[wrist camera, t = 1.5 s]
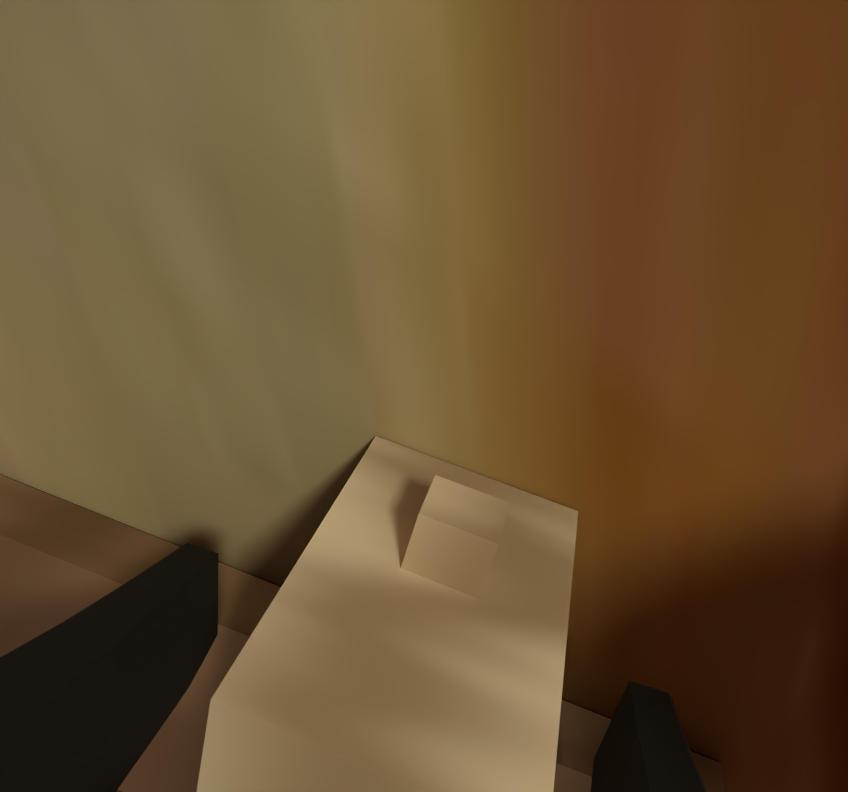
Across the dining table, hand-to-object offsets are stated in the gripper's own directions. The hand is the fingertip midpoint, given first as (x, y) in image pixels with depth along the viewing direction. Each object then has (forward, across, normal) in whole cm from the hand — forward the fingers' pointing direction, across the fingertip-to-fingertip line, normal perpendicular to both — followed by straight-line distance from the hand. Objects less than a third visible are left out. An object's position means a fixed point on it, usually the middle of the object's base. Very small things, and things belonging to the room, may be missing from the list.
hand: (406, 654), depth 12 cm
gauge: (+3, 0, +2) cm, 3 cm away
